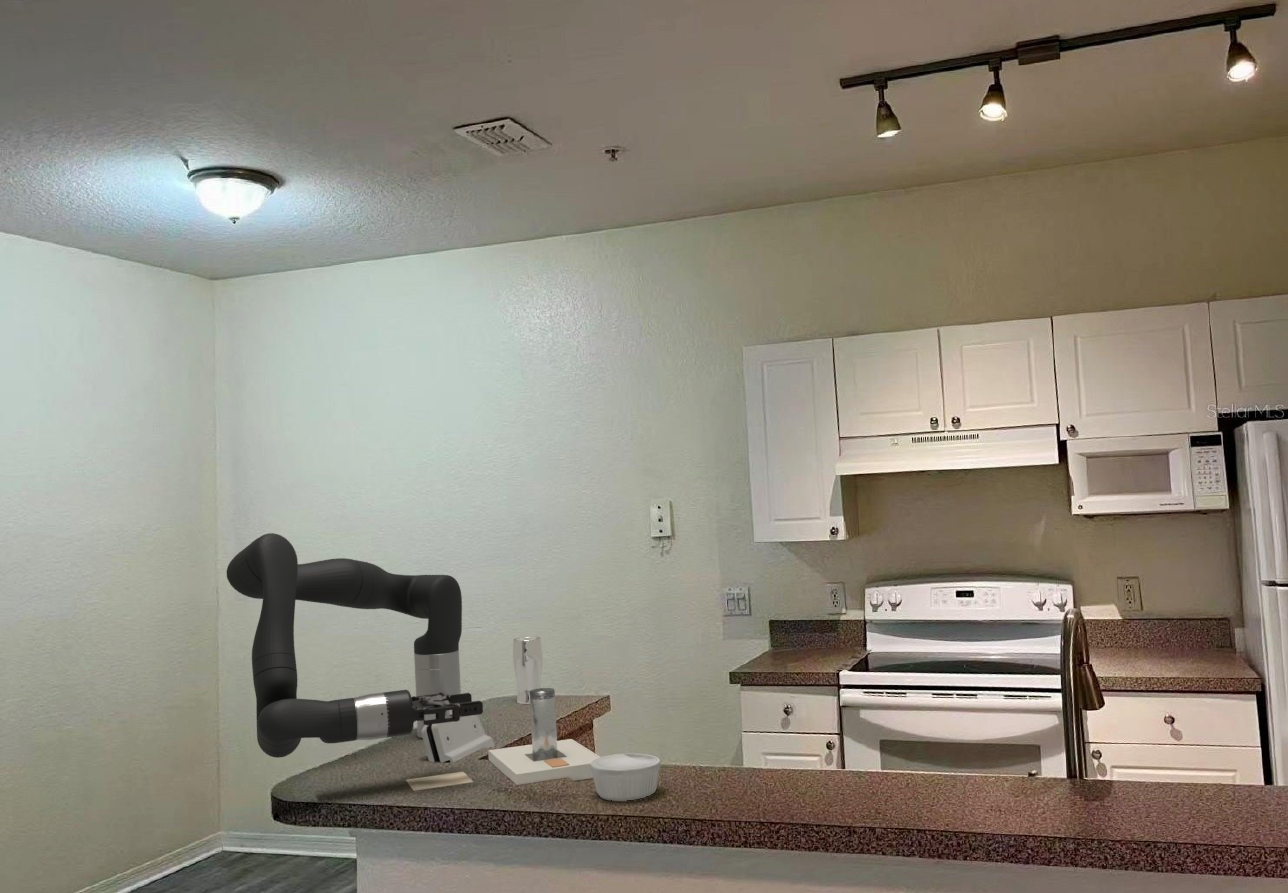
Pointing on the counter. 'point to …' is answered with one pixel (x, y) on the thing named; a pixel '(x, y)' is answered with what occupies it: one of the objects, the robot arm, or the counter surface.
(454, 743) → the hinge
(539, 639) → the beer glass
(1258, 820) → the counter surface
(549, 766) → the hole plate
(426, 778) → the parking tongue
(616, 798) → the ramekin
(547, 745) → the grey capped tube
